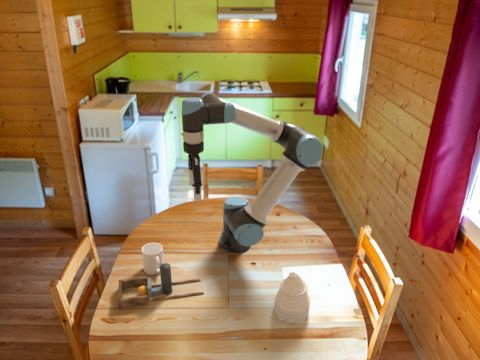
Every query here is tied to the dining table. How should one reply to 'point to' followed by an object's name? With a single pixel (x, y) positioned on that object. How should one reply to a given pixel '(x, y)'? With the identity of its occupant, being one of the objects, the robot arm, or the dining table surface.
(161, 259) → the mug
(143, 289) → the ball
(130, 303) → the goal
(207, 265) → the dining table surface
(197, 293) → the lane
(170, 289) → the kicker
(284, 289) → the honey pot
